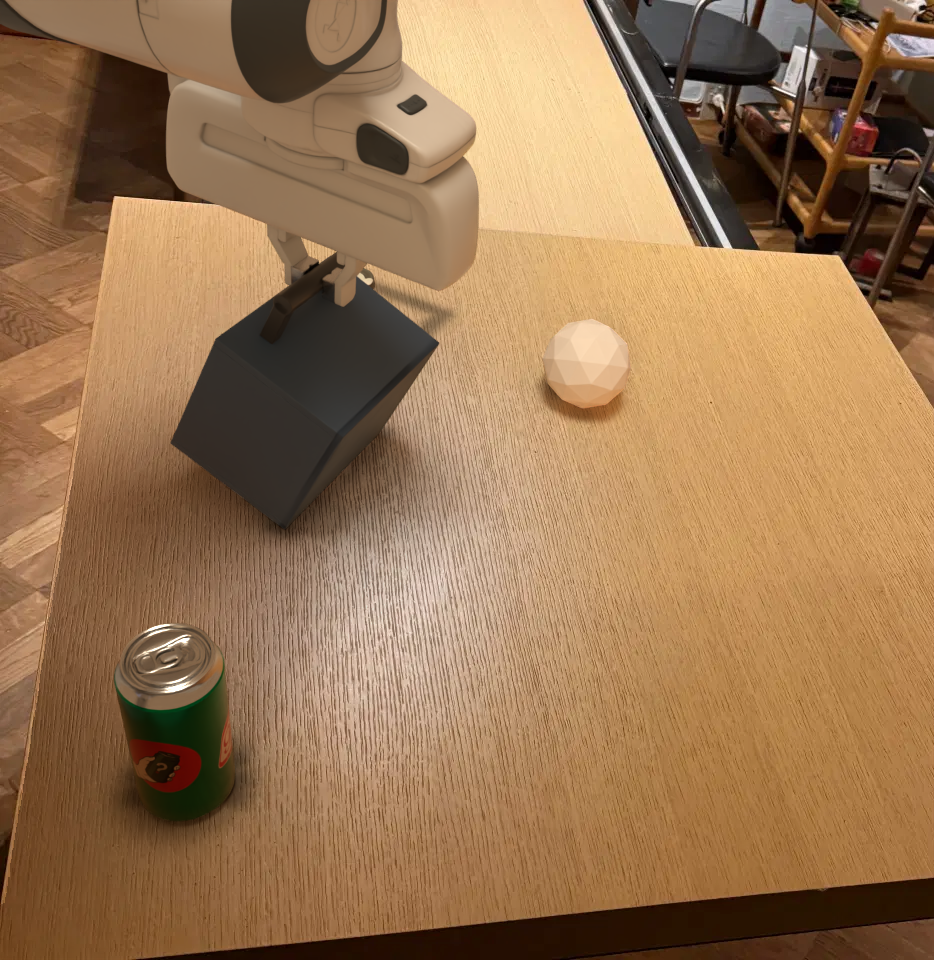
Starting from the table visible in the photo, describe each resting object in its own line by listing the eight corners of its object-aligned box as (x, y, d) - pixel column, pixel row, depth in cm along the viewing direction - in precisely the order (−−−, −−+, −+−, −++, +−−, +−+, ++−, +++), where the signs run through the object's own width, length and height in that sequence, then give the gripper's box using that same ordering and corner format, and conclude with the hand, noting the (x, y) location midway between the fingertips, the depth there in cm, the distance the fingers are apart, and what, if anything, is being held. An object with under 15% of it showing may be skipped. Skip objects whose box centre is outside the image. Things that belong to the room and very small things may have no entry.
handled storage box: (284, 530, 73) (169, 443, 72) (379, 433, 83) (279, 355, 82) (367, 399, 63) (234, 295, 61) (464, 306, 72) (351, 214, 71)
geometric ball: (563, 430, 93) (527, 387, 86) (565, 357, 96) (531, 309, 89) (642, 416, 90) (612, 370, 84) (641, 342, 94) (612, 292, 87)
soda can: (248, 803, 58) (237, 676, 50) (154, 842, 55) (127, 714, 47) (219, 734, 60) (204, 604, 53) (128, 768, 58) (98, 636, 50)
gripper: (128, 46, 58) (153, 257, 67) (452, 168, 55) (432, 370, 64) (200, 19, 62) (215, 220, 71) (501, 130, 60) (477, 323, 69)
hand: (320, 292), depth 68 cm, fingers closed on handled storage box
